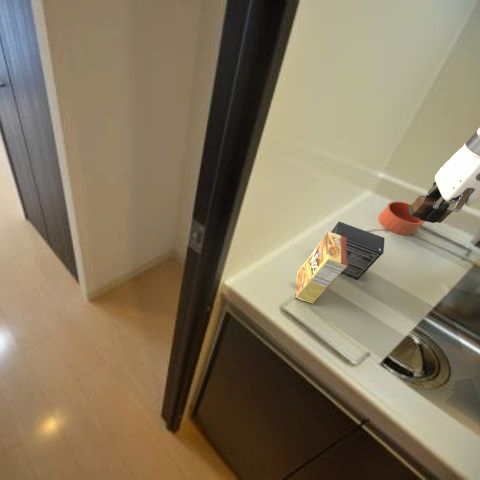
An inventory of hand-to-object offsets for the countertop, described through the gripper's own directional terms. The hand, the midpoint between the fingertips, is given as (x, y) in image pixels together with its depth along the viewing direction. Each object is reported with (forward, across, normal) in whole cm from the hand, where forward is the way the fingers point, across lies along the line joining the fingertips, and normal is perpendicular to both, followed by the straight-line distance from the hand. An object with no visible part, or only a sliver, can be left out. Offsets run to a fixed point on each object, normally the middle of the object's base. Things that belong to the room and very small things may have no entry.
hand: (424, 214), depth 77 cm
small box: (+15, -8, +12) cm, 21 cm away
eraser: (0, 0, 0) cm, 0 cm away
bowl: (+15, +15, -5) cm, 22 cm away
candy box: (+15, -20, +20) cm, 32 cm away
